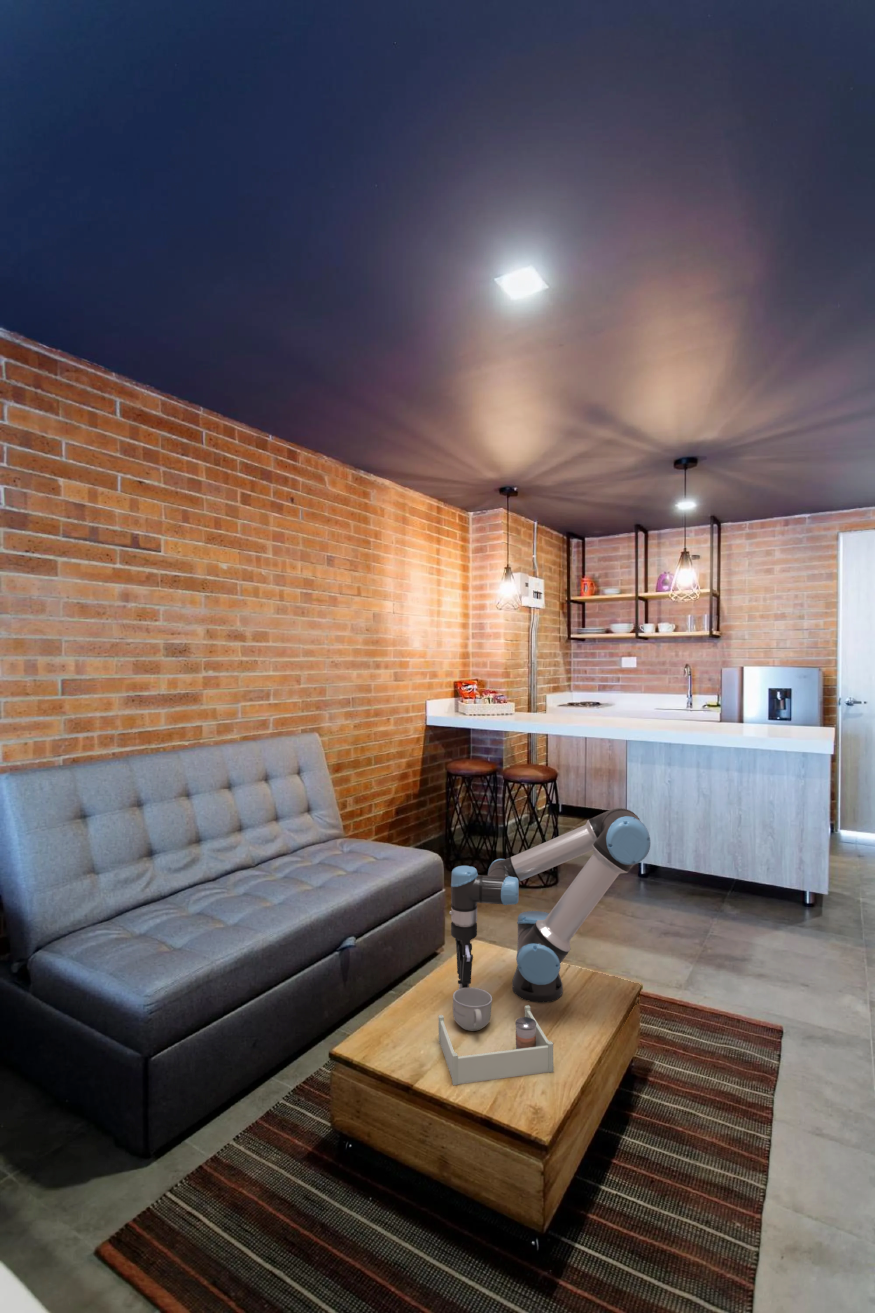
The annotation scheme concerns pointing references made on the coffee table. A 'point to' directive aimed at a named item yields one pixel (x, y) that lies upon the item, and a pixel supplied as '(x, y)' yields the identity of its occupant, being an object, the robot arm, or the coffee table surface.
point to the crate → (497, 1059)
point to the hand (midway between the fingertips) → (463, 1003)
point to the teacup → (472, 1008)
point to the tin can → (525, 1033)
